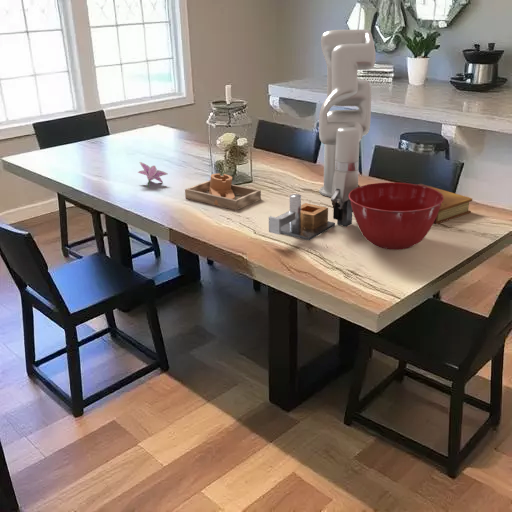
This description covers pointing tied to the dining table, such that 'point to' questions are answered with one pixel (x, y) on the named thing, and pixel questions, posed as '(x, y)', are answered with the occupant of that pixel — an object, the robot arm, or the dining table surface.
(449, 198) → the diary
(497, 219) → the dining table surface
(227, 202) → the wooden tray
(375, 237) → the mixing bowl
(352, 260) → the dining table surface
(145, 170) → the lily
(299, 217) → the grey stepped fixture
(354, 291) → the dining table surface
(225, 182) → the bracket
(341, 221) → the grey rectangular block
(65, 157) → the dining table surface
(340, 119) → the robot arm
